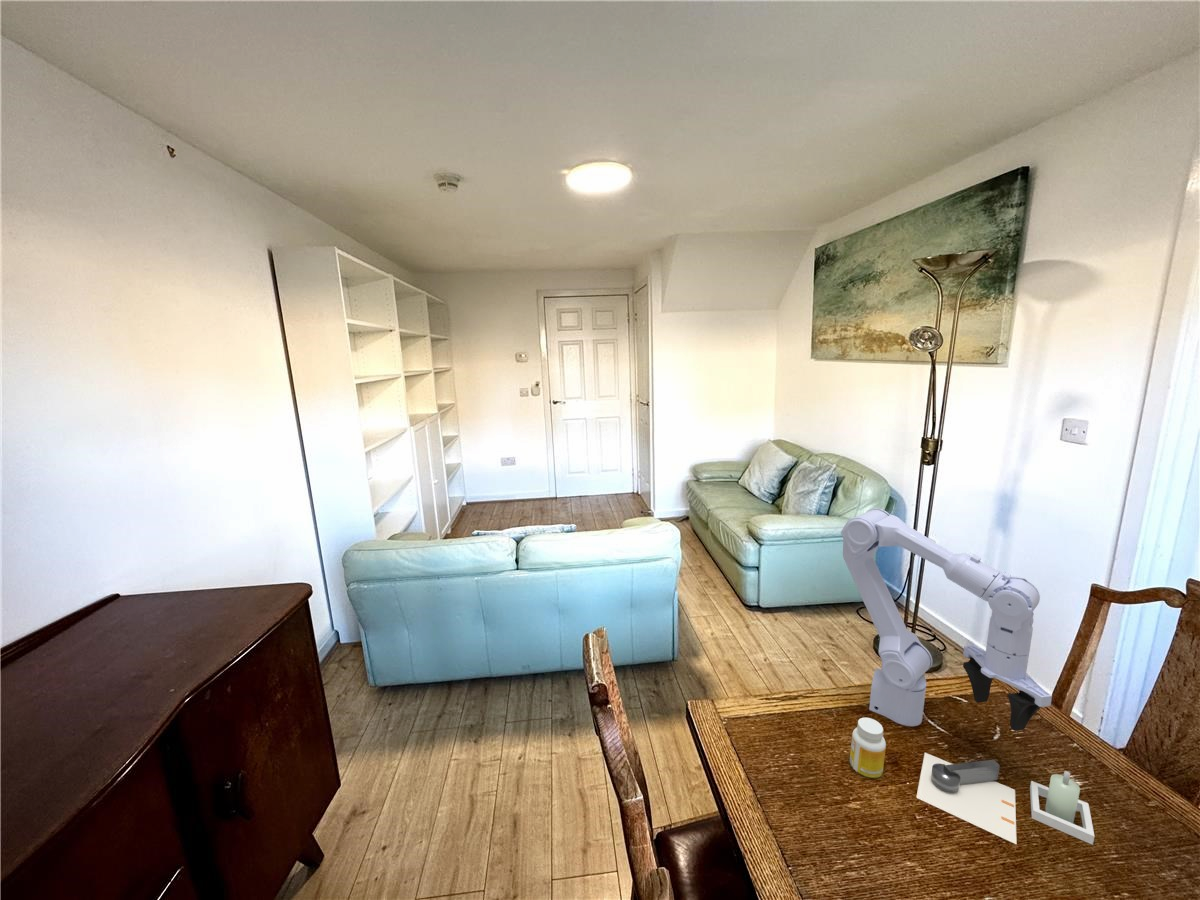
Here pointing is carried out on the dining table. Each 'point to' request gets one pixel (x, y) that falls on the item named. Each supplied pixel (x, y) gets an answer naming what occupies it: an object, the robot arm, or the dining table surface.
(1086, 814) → the tool holder
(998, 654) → the robot arm
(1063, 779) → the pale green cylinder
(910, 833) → the dining table surface
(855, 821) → the dining table surface
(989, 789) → the dial panel
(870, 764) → the supplement bottle
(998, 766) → the dial lever
